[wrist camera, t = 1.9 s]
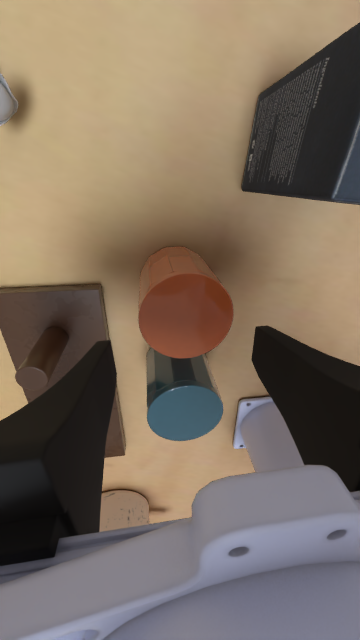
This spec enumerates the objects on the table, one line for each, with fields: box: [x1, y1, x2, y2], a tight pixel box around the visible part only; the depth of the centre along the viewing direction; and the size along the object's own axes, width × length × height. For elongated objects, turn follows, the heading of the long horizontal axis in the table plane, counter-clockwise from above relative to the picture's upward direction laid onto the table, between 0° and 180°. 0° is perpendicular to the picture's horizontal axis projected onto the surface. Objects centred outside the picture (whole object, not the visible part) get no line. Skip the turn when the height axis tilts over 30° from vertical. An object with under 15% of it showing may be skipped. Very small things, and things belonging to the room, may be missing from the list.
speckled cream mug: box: [99, 490, 149, 532], centre depth 31 cm, size 12×9×12 cm
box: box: [241, 23, 360, 205], centre depth 14 cm, size 8×6×11 cm
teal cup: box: [147, 347, 223, 441], centre depth 22 cm, size 6×6×7 cm
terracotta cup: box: [139, 246, 233, 358], centre depth 18 cm, size 6×6×7 cm
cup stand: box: [0, 284, 126, 458], centre depth 22 cm, size 8×20×6 cm, turn 0°
